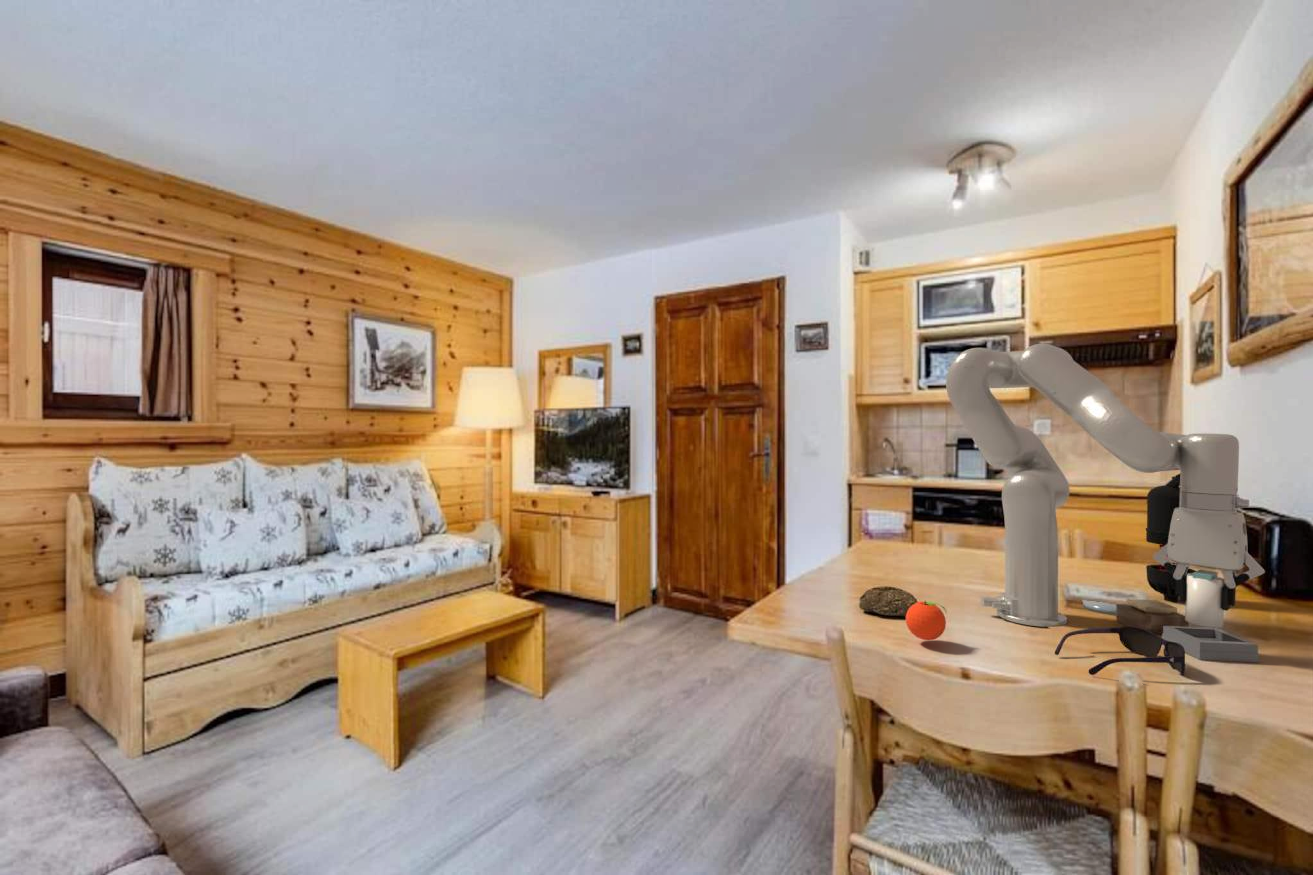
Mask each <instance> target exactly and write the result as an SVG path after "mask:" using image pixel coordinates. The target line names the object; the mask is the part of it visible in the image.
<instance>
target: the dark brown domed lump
mask: <svg viewBox="0 0 1313 875" xmlns="http://www.w3.org/2000/svg"><path fill="white" fill-rule="evenodd" d="M917 602H918V599H917V598H916V597H915V596H914V594H913V593H910V592H908V591H906V590H904V589H902V588H899V587H896V586H884V585H883V586H876V587H871V588H870V589H867V590H866V591H865V592H864V593H863V594H862V595H861V596H860V597H859V604H858V605H859V606H858V607H859V609H861V610H863V611H865V612H870V613H871V612H872V613H874V614H875V613H876V614H878V615H883V616H891V617H892V616H897V617H905V618H906V614H907V611H908V609H909V608H910V607H911V606H912V605H914V604H915V603H917Z"/></svg>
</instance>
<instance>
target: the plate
mask: <svg viewBox="0 0 1313 875" xmlns="http://www.w3.org/2000/svg"><path fill="white" fill-rule="evenodd" d="M1082 602H1083V605H1082V607H1083V608H1084V609H1087V610H1088V611H1091V612H1096V613H1099V614H1100V613H1101V614H1106V615H1110V616H1111V615H1112V616H1116V605H1115V604H1109V603H1103V602H1096V601H1087V600H1083V599H1082Z"/></svg>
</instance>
